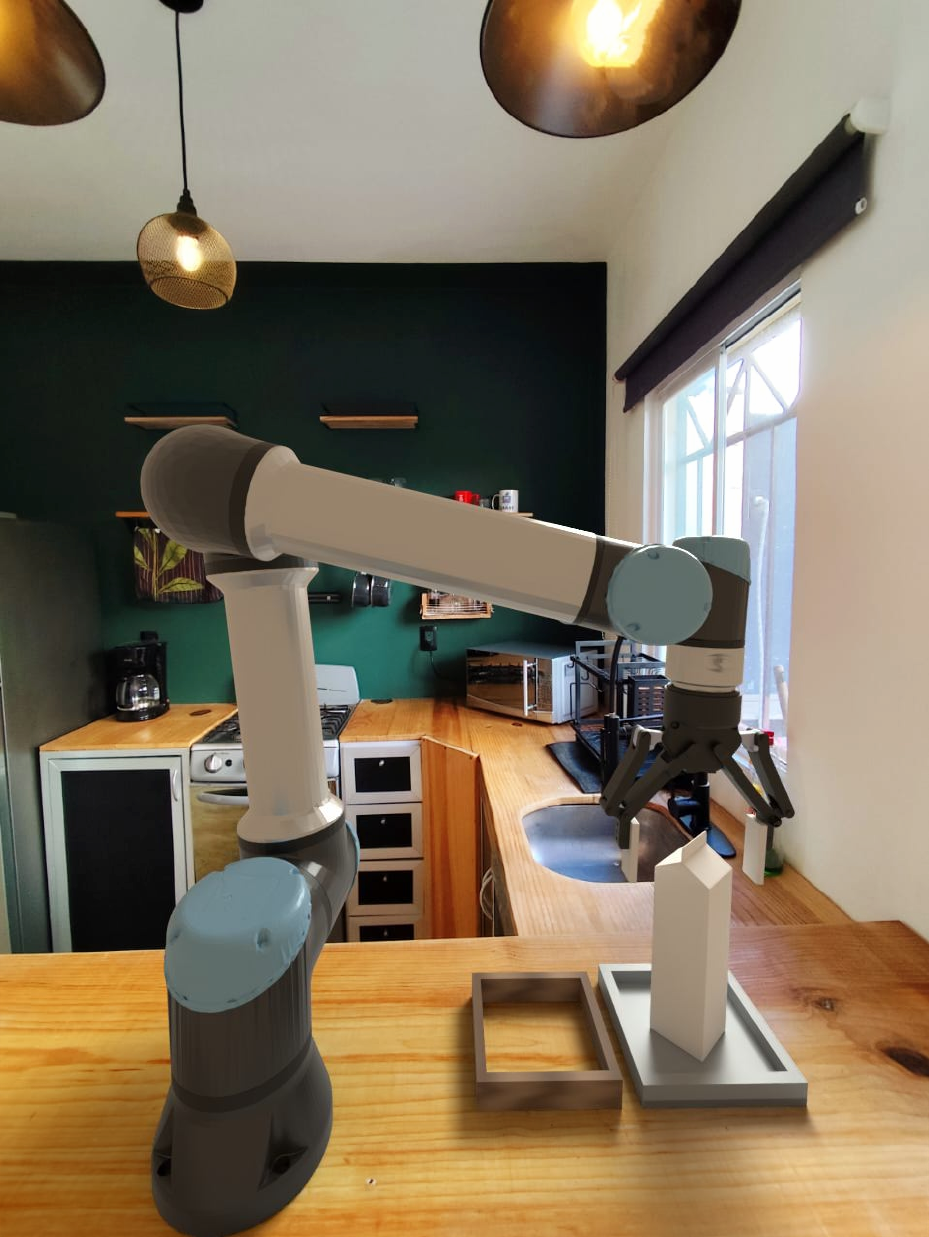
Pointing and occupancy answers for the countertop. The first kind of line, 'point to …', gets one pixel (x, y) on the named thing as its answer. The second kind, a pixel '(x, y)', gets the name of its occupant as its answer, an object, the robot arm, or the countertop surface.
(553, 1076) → the frame
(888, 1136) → the countertop surface
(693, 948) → the milk
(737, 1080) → the tray
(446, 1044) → the countertop surface
